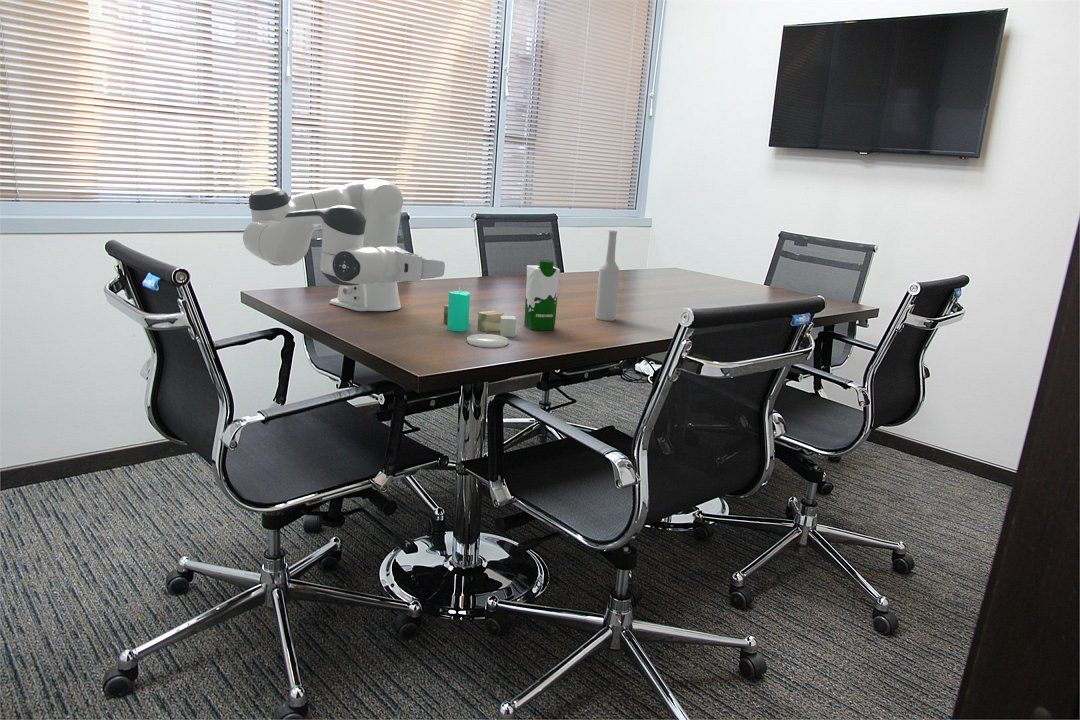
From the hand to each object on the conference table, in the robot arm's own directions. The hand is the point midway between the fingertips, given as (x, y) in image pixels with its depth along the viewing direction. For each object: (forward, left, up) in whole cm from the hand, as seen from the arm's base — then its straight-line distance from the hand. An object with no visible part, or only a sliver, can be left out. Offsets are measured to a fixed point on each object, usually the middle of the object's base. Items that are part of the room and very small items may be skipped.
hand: (427, 263), depth 200 cm
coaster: (+16, +6, -20) cm, 26 cm away
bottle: (+26, +61, -20) cm, 69 cm away
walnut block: (-5, +21, -20) cm, 30 cm away
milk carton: (+17, +33, -20) cm, 42 cm away
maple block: (+8, +20, -20) cm, 30 cm away
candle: (+1, +14, -20) cm, 25 cm away
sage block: (+15, +18, -20) cm, 31 cm away
